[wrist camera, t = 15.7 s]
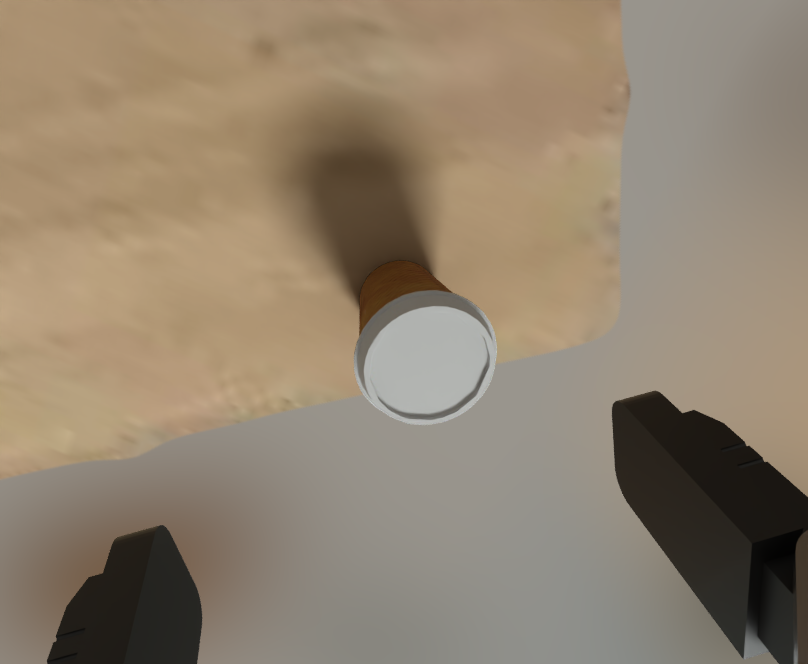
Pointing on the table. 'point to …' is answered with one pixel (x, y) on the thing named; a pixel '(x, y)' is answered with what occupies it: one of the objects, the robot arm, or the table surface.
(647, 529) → the robot arm
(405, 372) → the disposable coffee cup
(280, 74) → the table surface
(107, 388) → the table surface
